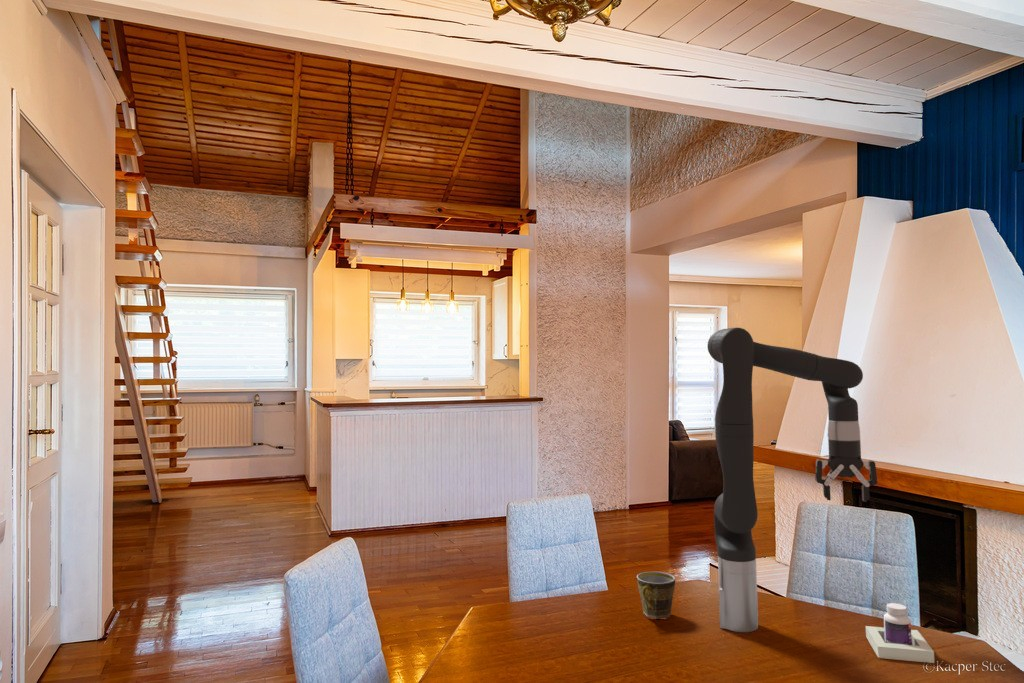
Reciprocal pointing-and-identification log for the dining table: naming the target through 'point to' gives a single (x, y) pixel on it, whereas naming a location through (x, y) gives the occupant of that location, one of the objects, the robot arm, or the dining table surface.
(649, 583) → the ceramic cup
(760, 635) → the dining table surface
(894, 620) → the pill bottle
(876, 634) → the socket board
